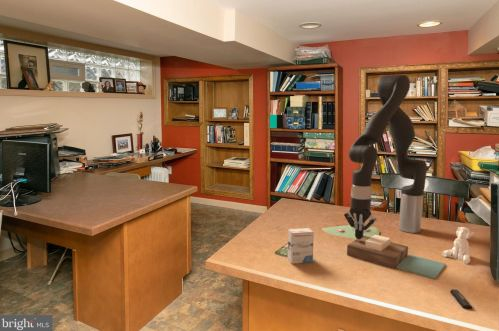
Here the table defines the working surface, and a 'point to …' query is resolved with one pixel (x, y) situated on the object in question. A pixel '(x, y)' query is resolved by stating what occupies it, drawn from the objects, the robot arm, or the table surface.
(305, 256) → the ink box
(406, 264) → the teal mat
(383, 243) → the ivory tile
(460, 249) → the sitting furry creature
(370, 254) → the plate
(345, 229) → the green diorama
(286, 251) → the smartphone
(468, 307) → the usb stick
